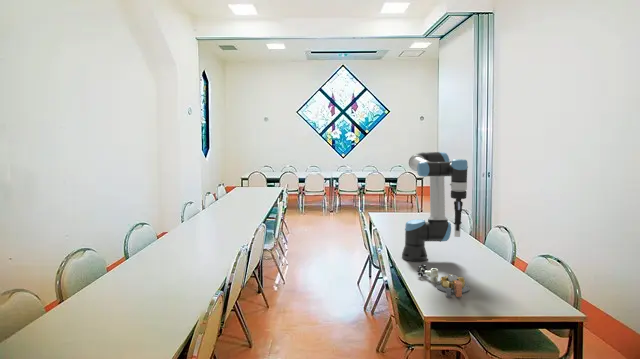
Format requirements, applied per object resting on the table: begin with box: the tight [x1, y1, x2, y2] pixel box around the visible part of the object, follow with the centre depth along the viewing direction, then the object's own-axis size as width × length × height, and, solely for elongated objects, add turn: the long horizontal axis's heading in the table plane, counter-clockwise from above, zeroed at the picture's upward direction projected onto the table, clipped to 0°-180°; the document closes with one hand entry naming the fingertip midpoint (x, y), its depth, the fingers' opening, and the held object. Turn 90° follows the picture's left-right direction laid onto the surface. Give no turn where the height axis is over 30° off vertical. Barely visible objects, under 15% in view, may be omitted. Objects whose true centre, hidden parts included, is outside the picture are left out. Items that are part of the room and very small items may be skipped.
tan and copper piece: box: [439, 273, 466, 298], centre depth 206 cm, size 20×11×6 cm, turn 174°
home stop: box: [445, 288, 452, 299], centre depth 200 cm, size 2×2×4 cm
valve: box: [416, 264, 439, 284], centre depth 223 cm, size 7×7×12 cm
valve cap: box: [435, 273, 470, 295], centre depth 211 cm, size 16×16×6 cm
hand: (457, 236), depth 215 cm, fingers closed
